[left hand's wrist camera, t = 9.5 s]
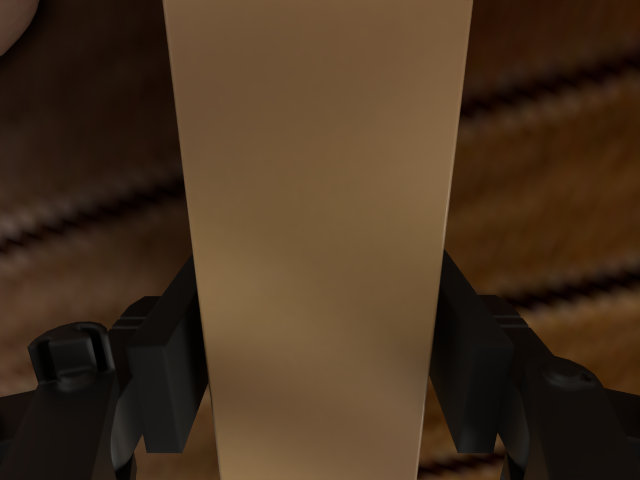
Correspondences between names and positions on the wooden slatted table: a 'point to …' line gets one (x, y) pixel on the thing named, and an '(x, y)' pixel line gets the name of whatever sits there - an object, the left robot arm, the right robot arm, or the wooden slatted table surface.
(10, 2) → the anatomical model
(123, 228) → the wooden slatted table surface
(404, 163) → the bar
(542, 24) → the wooden slatted table surface
